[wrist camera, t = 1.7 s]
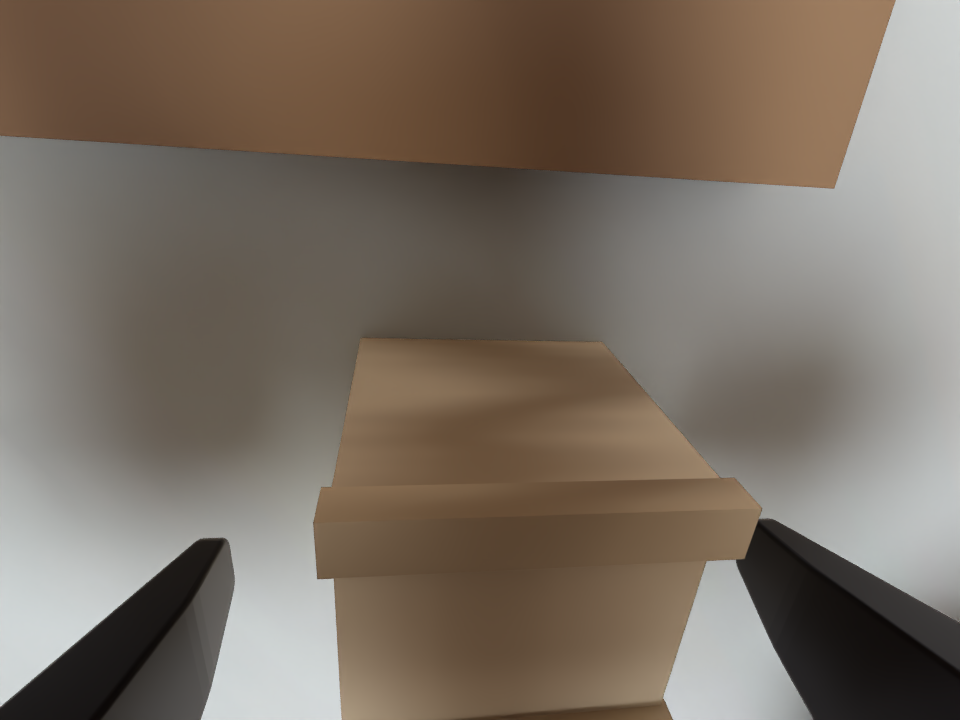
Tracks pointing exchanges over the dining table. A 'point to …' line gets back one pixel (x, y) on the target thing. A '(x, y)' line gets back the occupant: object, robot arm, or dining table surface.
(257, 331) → the dining table surface
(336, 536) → the flanged wooden block
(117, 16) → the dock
